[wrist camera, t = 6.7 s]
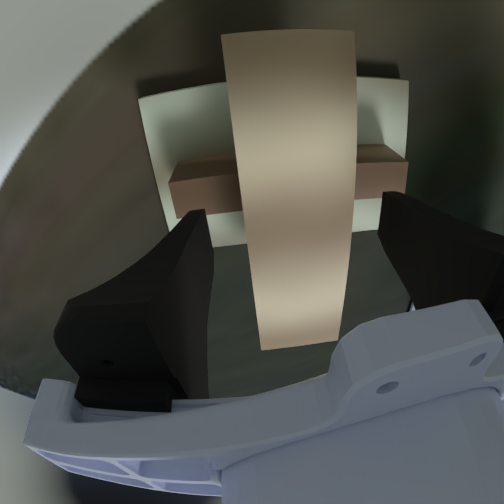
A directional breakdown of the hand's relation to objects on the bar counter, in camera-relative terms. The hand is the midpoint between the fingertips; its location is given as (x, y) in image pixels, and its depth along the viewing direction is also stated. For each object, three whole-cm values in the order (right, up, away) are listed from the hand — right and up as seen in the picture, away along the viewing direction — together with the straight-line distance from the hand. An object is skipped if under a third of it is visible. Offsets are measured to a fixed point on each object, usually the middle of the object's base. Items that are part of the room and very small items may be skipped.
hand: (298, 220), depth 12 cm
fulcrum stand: (0, +4, +6) cm, 7 cm away
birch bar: (0, +2, +2) cm, 3 cm away
